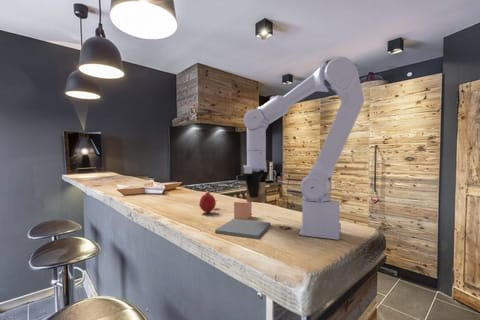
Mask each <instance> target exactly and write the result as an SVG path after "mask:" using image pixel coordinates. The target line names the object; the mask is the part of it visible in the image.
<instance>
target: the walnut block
mask: <svg viewBox="0 0 480 320" xmlns="http://www.w3.org/2000/svg"><path fill="white" fill-rule="evenodd" d="M266 182H267V181H266ZM266 182H260V183H259V190H258V196H257V198H254V197H250V195H249V191H248V187H247V186H246V200H247V202H251V203H256V204H257V203H263V202H265V201H266V200H267V199H266V194H267V192H266Z"/></svg>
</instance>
